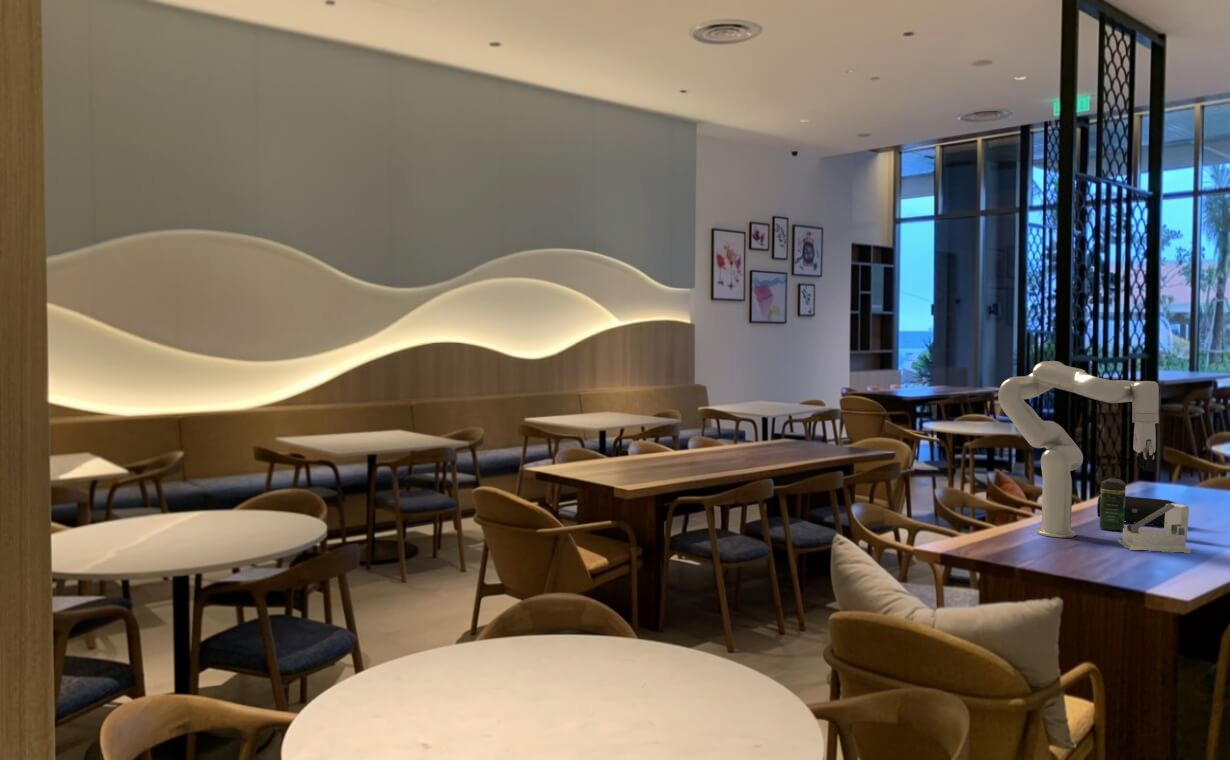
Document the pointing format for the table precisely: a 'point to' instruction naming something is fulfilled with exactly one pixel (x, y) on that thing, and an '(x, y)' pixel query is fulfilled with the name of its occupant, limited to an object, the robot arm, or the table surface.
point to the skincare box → (1177, 517)
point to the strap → (1152, 516)
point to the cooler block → (1155, 539)
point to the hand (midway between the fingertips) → (1145, 469)
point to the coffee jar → (1112, 504)
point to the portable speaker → (1141, 509)
